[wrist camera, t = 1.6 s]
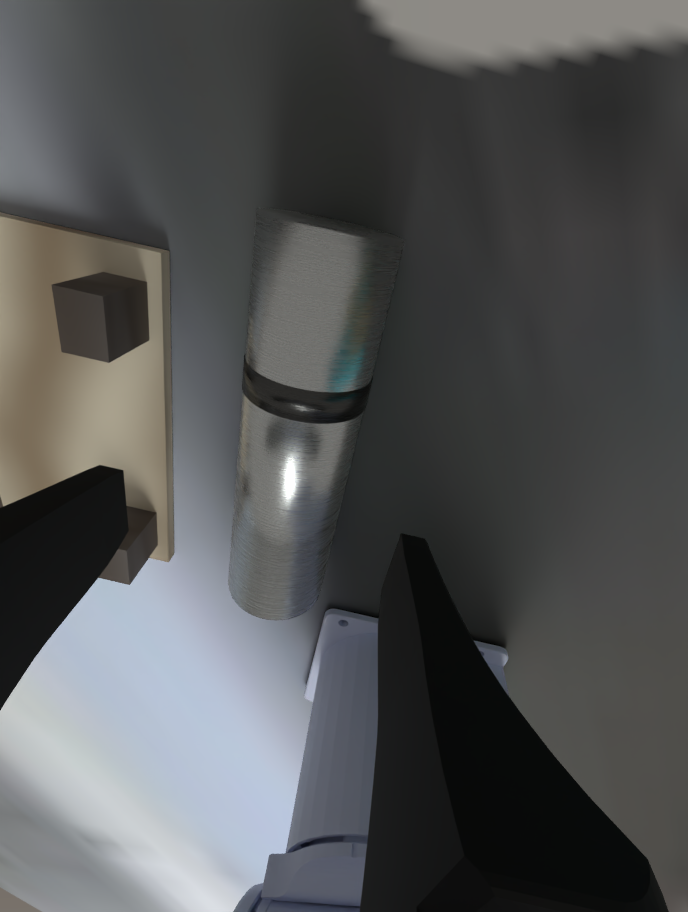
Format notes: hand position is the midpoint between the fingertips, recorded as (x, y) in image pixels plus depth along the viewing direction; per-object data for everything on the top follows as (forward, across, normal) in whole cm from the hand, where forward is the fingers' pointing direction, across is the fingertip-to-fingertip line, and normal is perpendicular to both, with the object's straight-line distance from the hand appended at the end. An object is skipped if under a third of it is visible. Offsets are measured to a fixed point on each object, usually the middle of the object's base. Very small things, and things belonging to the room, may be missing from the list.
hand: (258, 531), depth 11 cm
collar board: (+7, +10, +2) cm, 13 cm away
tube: (+7, 0, 0) cm, 7 cm away
